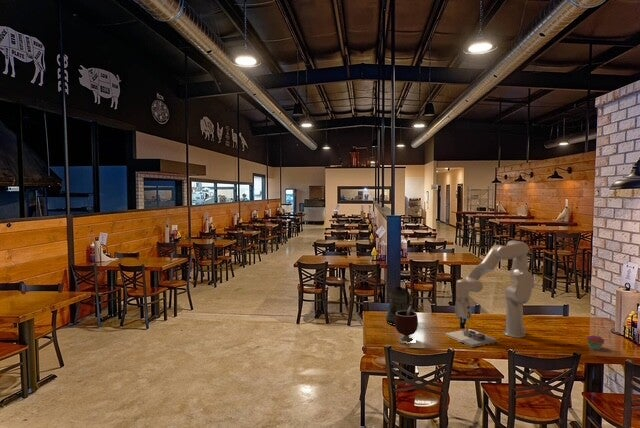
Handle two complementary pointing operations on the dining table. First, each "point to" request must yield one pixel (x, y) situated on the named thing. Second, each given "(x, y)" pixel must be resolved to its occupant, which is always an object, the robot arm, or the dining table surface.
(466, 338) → the grey flat board
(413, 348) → the dining table surface
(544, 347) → the dining table surface
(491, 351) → the dining table surface
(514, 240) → the robot arm
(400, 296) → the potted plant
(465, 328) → the bolt
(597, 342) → the cupcake
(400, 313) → the mate gourd
